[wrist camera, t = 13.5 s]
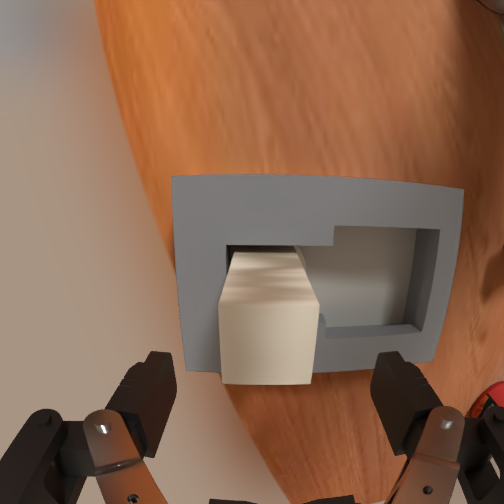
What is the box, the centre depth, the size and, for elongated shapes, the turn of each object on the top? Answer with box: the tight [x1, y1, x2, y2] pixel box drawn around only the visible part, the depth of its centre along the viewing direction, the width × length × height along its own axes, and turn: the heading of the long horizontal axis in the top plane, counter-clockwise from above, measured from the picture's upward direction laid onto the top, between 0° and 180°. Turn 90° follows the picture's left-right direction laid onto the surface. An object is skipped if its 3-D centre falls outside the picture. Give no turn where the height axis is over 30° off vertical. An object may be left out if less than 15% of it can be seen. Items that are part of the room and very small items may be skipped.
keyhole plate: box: [172, 174, 464, 373], centre depth 22 cm, size 20×14×6 cm
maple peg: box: [218, 245, 320, 385], centre depth 18 cm, size 6×6×12 cm
